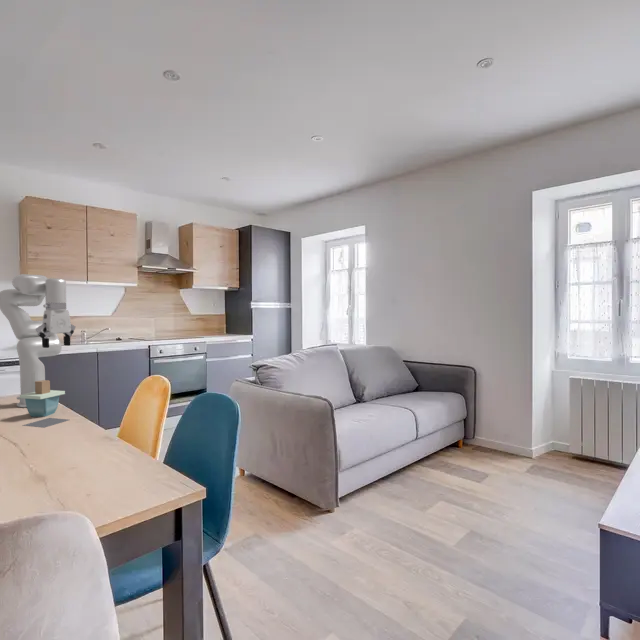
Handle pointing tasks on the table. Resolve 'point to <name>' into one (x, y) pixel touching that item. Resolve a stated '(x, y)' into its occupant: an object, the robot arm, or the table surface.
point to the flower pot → (42, 406)
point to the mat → (46, 422)
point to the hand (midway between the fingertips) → (56, 346)
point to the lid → (42, 391)
